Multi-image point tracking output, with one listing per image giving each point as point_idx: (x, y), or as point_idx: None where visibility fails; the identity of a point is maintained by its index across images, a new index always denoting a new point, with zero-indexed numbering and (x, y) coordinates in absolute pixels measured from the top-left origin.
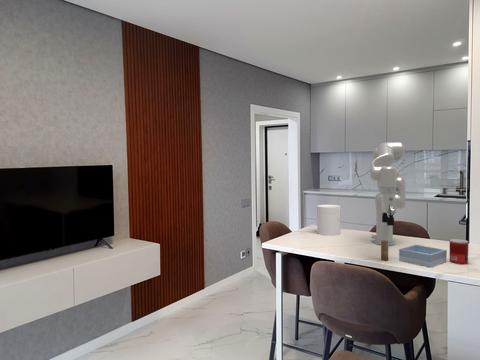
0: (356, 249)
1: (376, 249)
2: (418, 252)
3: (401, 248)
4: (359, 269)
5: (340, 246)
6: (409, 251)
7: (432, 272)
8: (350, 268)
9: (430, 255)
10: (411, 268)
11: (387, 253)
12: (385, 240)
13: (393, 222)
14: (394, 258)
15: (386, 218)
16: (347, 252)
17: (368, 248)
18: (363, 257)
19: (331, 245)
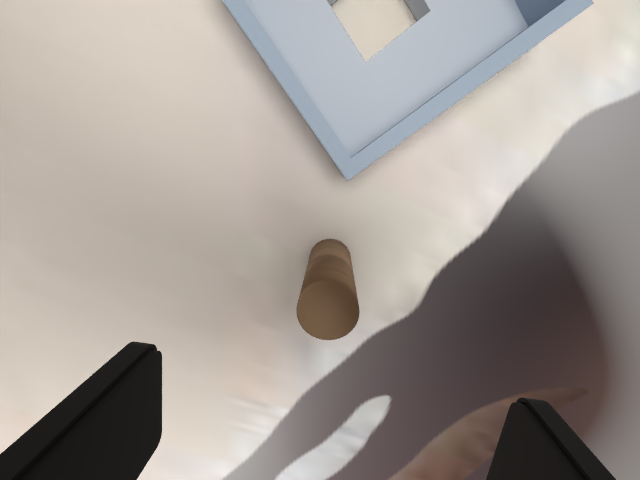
0: (85, 328)
1: (68, 209)
2: (483, 68)
3: (332, 153)
4: (486, 435)
5: (22, 389)
6: (423, 125)
7: (625, 87)
8: (463, 464)
9: (591, 3)
10: (520, 177)
11: (350, 263)
12: (303, 295)
13: (583, 456)
14: (295, 184)
15: (107, 448)
16: (162, 393)
17: (48, 250)
18: (269, 349)
19: (6, 427)
